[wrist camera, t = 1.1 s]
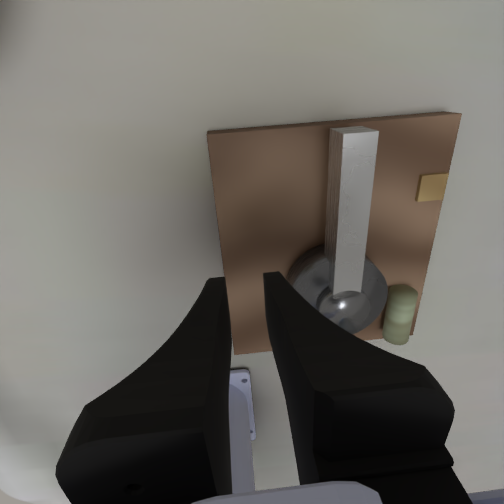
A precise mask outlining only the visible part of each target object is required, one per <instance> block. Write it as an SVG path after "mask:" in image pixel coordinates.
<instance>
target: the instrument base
mask: <svg viewBox="0 0 504 504" xmlns="http://www.w3.org/2000/svg"><path fill="white" fill-rule="evenodd" d="M461 115H462V114H461V113H452V112H434V113H422V114H410V115H397V116H385V117H373V118H361V119H349V120H336V121H324V122H312V123H300V124H287V125H275V126H263V127H251V128H239V129H226V130H214V131H208V132H207V142H208V149H209V157H210V165H211V173H212V181H213V189H214V197H215V205H216V213H217V221H218V228H219V236H220V244H221V252H222V260H223V268H224V276H225V279H226V287H227V295H228V303H229V311H230V320H231V331H232V339H233V347H234V355H239V354H248V353H257V352H266V351H272V347H271V343H270V340H269V335H268V329H267V322H266V316H265V300H264V283H263V273H266V272H276V271H279V272H280V273H281V274H282V275H283V276H284V277H285V278H286V279H287V275H288V272H289V270H290V268H291V267H292V265H293V264H294V262H295V261H296V260H297V259H298V258H299V257H300V256H301V255H302V254H304V253H305V252H307V251H308V250H310V249H312V248H314V247H316V246H319V245H322V244H325V231H326V209H327V187H328V164H329V142H330V129H331V128H343V127H355V126H364V127H367V128H370V129H374V130H377V131H379V136H378V145H377V153H376V162H375V171H374V180H373V189H372V198H371V207H370V216H369V224H368V233H367V242H366V251H365V254H366V255H367V256H368V257H369V259H370V260H371V261H372V262H373V263H374V264H375V266H376V267H377V268H378V269H379V270H380V272H381V273H382V274H383V276H384V277H385V280H386V282H387V286H388V296H387V301H386V304H385V306H384V308H383V310H382V312H381V313H380V315H379V316H378V317H377V318H376V319H375V320H374V321H373V322H372V323H371V324H370V325H369V326H367V327H366V328H364V329H363V330H361V331H359V332H357V333H355V334H353V335H355V336H356V337H358V338H360V339H362V340H373V339H382V338H384V339H385V340H386V341H387V342H389V343H391V344H395V345H403V344H406V343H407V342H408V339H409V335H413V331H414V327H415V322H416V318H417V313H418V309H419V304H420V300H421V295H422V291H423V286H424V282H425V277H426V273H427V268H428V264H429V259H430V255H431V250H432V246H433V241H434V237H435V232H436V228H437V223H438V219H439V214H440V210H441V205H442V201H443V197H444V193H445V188H446V184H447V179H448V175H449V169H450V165H451V160H452V156H453V151H454V147H455V142H456V138H457V133H458V129H459V124H460V120H461Z"/></svg>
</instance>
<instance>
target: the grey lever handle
mask: <svg viewBox="0 0 504 504" xmlns="http://www.w3.org/2000/svg"><path fill="white" fill-rule="evenodd" d="M378 136H379V131H377V130H374V129H370V128H367V127H364V126H355V127H343V128H331V129H330V142H329V164H328V187H327V209H326V231H325V244H322V245H319V246H316V247H314V248H312V249H310V250H308V251H307V252H305V253H304V254H302V255H301V256H300V257H299V258H298V259H297V260H296V261H295V262H294V264H293V265H292V267H291V268H290V270H289V272H288V275H287V279H286V280H287V281H288V282H289V283H290V284H291V285H292V286H293V288H294V289H295V290H296V291H297V292H298V293H299V294H300V295H301V296H302V297H303V298H304V299H305V300H306V301H308V302H309V303H310V304H311V305H312V306H313V307H314V308H315V309H317V310H318V311H319V312H320V313H321V314H323V315H324V316H325V317H326V318H328V319H329V320H331V321H332V322H334V323H335V324H337V325H338V326H340V327H341V328H343V329H344V330H346V331H348V332H349V333H351V334H355V333H357V332H359V331H361V330H363V329H364V328H366V327H367V326H369V325H370V324H371V323H372V322H373V321H374V320H375V319H376V318H377V317H378V316H379V315H380V313H381V312H382V310H383V308H384V306H385V304H386V301H387V296H388V286H387V282H386V280H385V277H384V276H383V274H382V273H381V272H380V270H379V269H378V268H377V267H376V266H375V264H374V263H373V262H372V261H371V260H370V259H369V257H368V256H367V255H366V254H365V251H366V242H367V233H368V224H369V216H370V207H371V198H372V189H373V180H374V171H375V162H376V153H377V145H378Z"/></svg>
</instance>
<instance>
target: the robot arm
mask: <svg viewBox="0 0 504 504" xmlns="http://www.w3.org/2000/svg"><path fill="white" fill-rule="evenodd" d="M263 283H264V300H265V316H266V322H267V329H268V335H269V340H270V343H271V347H272V351H273V354H274V358H275V361H276V365H277V369H278V372H279V376H280V379H281V383H282V387H283V391H284V395H285V399H286V405H287V410H288V416H289V422H290V427H291V433H292V439H293V445H294V451H295V457H296V463H297V469H298V475H299V481H300V485H299V486H291V487H283V488H276V489H268V490H260V491H255V483H254V470H253V458H252V446H251V441H253V440H255V438H256V432H255V422H254V412H253V402H252V392H251V382H250V373H249V371H248V370H246V369H240V370H231V371H230V365H231V347H232V337H231V320H230V311H229V303H228V295H227V287H226V279H225V277H217V278H209V279H208V280H207V282H206V284H205V286H204V288H203V290H202V292H201V293H200V295H199V297H198V299H197V300H196V302H195V304H194V305H193V307H192V308H191V310H190V311H189V313H188V314H187V316H186V317H185V318H184V320H183V321H182V323H181V324H180V325H179V327H178V328H177V329H176V330H175V332H174V333H173V334H172V335H171V336H170V338H169V339H168V340H167V341H166V342H165V343H164V344H163V345H162V346H161V347H160V348H159V349H158V350H157V351H156V352H155V353H154V354H153V355H152V356H151V357H150V358H149V359H148V360H147V361H146V362H145V363H143V364H142V365H141V366H140V367H139V368H137V369H136V370H135V371H134V372H133V373H131V374H130V375H129V376H127V377H126V378H125V379H123V380H122V381H121V382H119V383H118V384H117V385H115V386H114V387H112V388H111V389H109V390H108V391H106V392H105V393H103V394H102V395H100V396H99V397H97V398H96V399H94V400H93V401H91V402H90V403H88V404H87V405H85V406H84V408H83V410H82V412H81V414H80V416H79V417H78V419H77V421H76V423H75V425H74V427H73V429H72V431H71V433H70V435H69V438H68V440H67V442H66V444H65V447H64V449H63V451H62V454H61V456H60V458H59V461H58V463H57V465H56V474H55V475H56V478H57V480H58V483H59V485H60V487H61V488H62V490H63V492H64V493H65V495H66V496H67V498H68V499H69V501H70V502H71V504H504V489H498V490H491V491H483V492H476V493H469V494H467V493H466V491H465V489H464V488H463V486H462V484H461V483H460V481H459V479H458V478H457V476H456V474H455V473H454V471H453V469H452V468H451V466H453V464H454V461H453V458H452V456H451V455H450V453H449V452H448V450H447V448H446V447H445V445H444V444H445V442H446V439H447V436H448V433H449V431H450V428H451V425H452V422H453V418H454V412H455V410H454V406H453V403H452V401H451V399H450V398H449V397H448V395H447V394H446V392H445V391H444V390H443V388H442V387H441V386H440V384H439V383H438V382H437V380H436V379H435V378H434V377H433V376H432V374H431V373H430V372H429V371H428V370H427V369H426V367H425V366H423V365H421V364H418V363H415V362H412V361H410V360H407V359H404V358H402V357H399V356H396V355H394V354H391V353H389V352H387V351H385V350H382V349H380V348H378V347H376V346H374V345H372V344H370V343H368V342H366V341H364V340H362V339H360V338H358V337H356V336H355V335H353V334H351V333H349V332H348V331H346V330H344V329H343V328H341V327H340V326H338V325H337V324H335V323H334V322H332V321H331V320H329V319H328V318H326V317H325V316H324V315H323V314H321V313H320V312H319V311H318V310H317V309H315V308H314V307H313V306H312V305H311V304H310V303H309V302H308V301H306V300H305V299H304V298H303V297H302V296H301V295H300V294H299V293H298V292H297V291H296V290H295V289H294V288H293V286H292V285H291V284H290V283H289V282H288V281H287V280H286V278H285V277H284V276H283V275H282V274H281V273H280V272H279V271H276V272H266V273H263Z"/></svg>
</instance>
